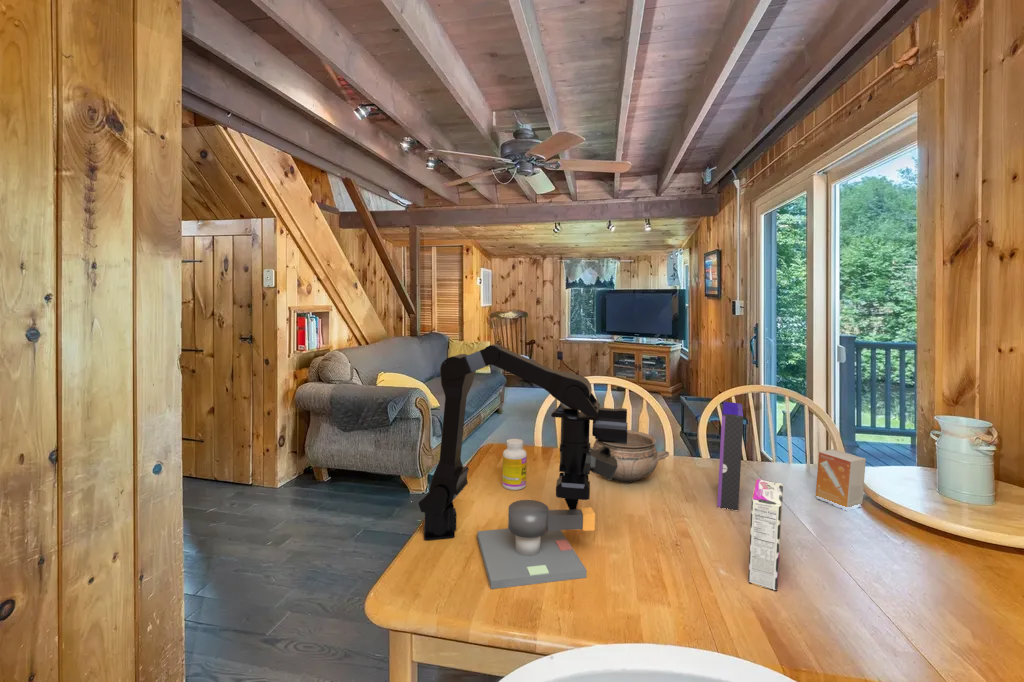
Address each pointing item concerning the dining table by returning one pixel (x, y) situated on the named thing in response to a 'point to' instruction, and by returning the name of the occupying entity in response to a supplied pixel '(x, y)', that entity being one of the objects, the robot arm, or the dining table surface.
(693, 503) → the dining table surface
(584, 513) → the lock lever handle
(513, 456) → the supplement bottle
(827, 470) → the small box
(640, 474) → the cooking pot
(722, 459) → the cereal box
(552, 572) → the base
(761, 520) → the candy bar box
